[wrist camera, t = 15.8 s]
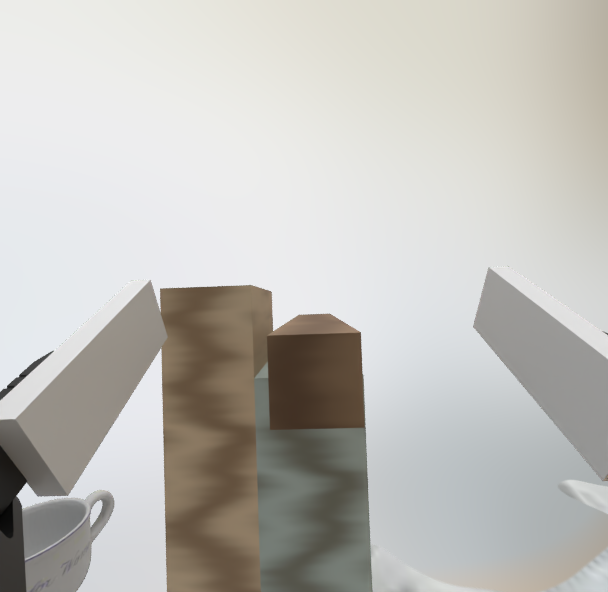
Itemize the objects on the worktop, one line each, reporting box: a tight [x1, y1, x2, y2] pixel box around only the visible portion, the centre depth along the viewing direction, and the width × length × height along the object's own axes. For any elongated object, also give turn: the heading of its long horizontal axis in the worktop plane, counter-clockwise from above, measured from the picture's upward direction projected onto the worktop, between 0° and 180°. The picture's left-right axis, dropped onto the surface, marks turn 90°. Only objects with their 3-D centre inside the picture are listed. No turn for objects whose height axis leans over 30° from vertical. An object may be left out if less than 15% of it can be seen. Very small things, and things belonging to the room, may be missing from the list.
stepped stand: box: [160, 285, 372, 592], centre depth 25 cm, size 13×10×30 cm
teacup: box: [22, 490, 114, 592], centre depth 32 cm, size 14×11×8 cm
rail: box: [267, 314, 365, 430], centre depth 24 cm, size 4×24×4 cm, turn 178°
